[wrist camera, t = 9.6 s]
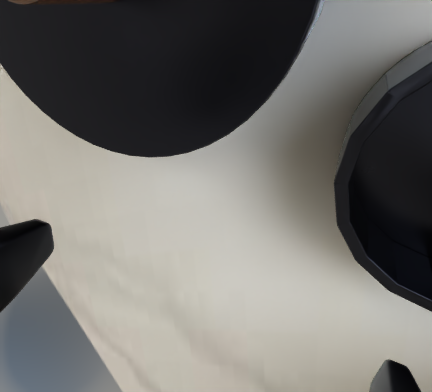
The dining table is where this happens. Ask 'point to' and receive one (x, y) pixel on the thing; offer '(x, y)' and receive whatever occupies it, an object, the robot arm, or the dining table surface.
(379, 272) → the black bowl
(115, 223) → the dining table surface
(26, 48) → the lid
